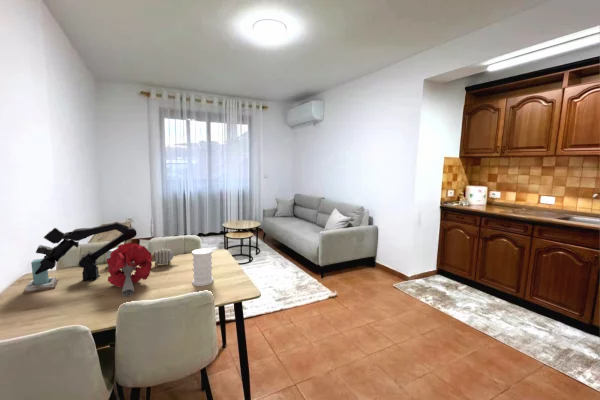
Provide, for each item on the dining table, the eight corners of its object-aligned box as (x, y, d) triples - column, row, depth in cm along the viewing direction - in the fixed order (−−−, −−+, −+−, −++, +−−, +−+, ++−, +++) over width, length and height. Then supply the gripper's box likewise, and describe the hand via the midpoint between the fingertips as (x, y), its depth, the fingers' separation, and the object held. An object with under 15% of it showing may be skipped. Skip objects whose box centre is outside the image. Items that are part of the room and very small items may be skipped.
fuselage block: (48, 281, 151) (46, 258, 149) (46, 284, 147) (44, 261, 145) (36, 283, 148) (33, 259, 146) (34, 286, 144) (31, 262, 142)
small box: (114, 267, 177) (113, 251, 176) (107, 266, 178) (106, 250, 177) (124, 263, 185) (123, 247, 184) (117, 262, 186) (116, 247, 185)
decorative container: (218, 280, 160) (217, 249, 158) (203, 287, 150) (202, 255, 148) (202, 276, 165) (202, 247, 163) (187, 283, 155) (186, 252, 153)
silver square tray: (58, 280, 156) (58, 276, 155) (54, 288, 146) (54, 283, 146) (29, 285, 149) (28, 280, 149) (23, 293, 139) (22, 288, 139)
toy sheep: (148, 265, 182) (147, 248, 181) (175, 260, 192) (175, 244, 191) (151, 270, 174) (150, 252, 172) (179, 264, 184) (179, 248, 182)
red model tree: (155, 300, 149) (153, 259, 170) (150, 271, 135) (148, 230, 156) (107, 311, 140) (111, 266, 160) (96, 282, 126) (102, 236, 147)
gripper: (50, 236, 154) (25, 258, 150) (43, 244, 139) (15, 269, 134) (70, 247, 160) (46, 269, 155) (65, 256, 144) (38, 281, 139)
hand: (36, 272), depth 146 cm, fingers closed on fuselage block, 5 cm apart
